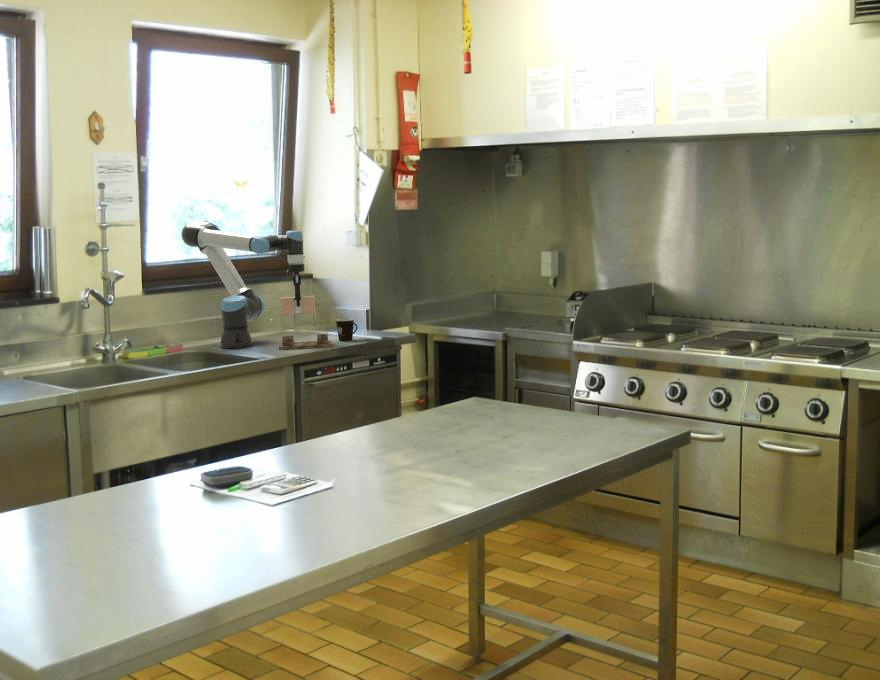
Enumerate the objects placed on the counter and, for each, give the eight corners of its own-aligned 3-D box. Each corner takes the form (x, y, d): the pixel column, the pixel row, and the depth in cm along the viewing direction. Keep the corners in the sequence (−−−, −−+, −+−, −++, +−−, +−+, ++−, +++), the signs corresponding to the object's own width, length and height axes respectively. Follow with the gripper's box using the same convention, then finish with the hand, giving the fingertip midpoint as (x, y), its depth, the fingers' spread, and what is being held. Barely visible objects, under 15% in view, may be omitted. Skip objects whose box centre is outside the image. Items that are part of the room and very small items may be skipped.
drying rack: (279, 350, 471) (278, 339, 471) (280, 346, 483) (279, 335, 482) (331, 347, 474) (331, 336, 473) (331, 343, 486) (330, 333, 485)
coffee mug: (334, 340, 496) (333, 319, 494) (351, 338, 499) (350, 318, 498) (342, 343, 485) (341, 322, 484) (359, 341, 489) (358, 320, 488)
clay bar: (281, 315, 486) (280, 298, 484) (281, 314, 489) (280, 297, 487) (315, 313, 488) (314, 296, 487) (315, 312, 491) (314, 295, 489)
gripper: (304, 264, 477) (306, 314, 481) (303, 261, 493) (306, 310, 496) (287, 265, 476) (290, 315, 480) (288, 262, 492) (290, 311, 495)
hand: (298, 312), depth 488 cm, fingers closed on clay bar, 3 cm apart
